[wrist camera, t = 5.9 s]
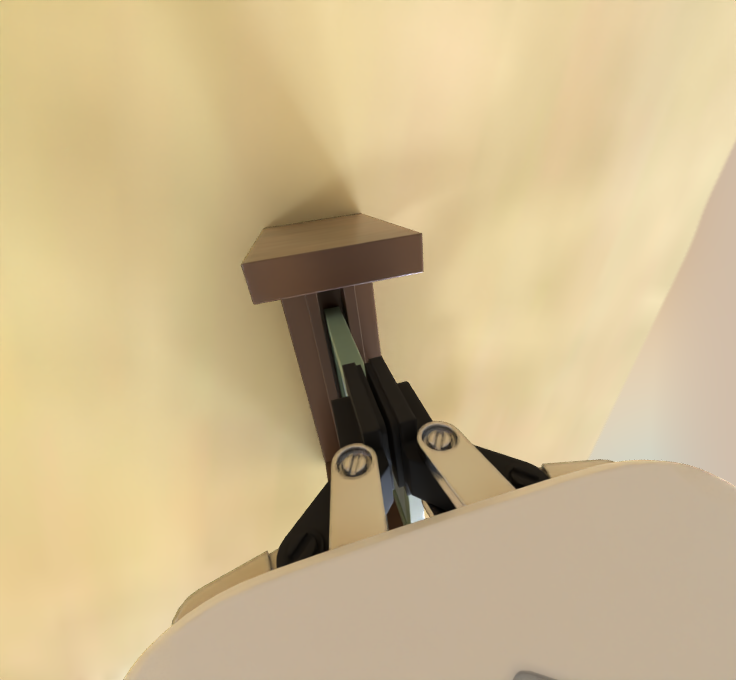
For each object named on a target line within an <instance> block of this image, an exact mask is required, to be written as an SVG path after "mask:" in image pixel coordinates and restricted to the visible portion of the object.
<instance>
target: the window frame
mask: <svg viewBox="0 0 736 680" xmlns="http://www.w3.org/2000/svg"><path fill="white" fill-rule="evenodd" d="M241 267H242V270H243V273H244V276H245V280H246V283H247V286H248V289H249V292H250V295H251V298H252V301H253V304H260V303H265V302H271V301H276V300H281V302H282V306H283V309H284V313H285V317H286V320H287V324H288V328H289V331H290V335H291V339H292V342H293V346H294V350H295V353H296V357H297V361H298V364H299V368H300V371H301V375H302V379H303V382H304V386H305V390H306V393H307V397H308V401H309V404H310V408H311V412H312V415H313V419H314V423H315V426H316V430H317V434H318V437H319V441H320V445H321V448H322V452H323V456H324V459H325V463H326V470H327V478H328V481H329V480H330V479H331V464H332V459H333V457H334V456H335V454H336V453H337V452H338V451H339V450H340V444H339V439H338V434H337V429H336V424H335V419H334V414H333V409H332V404H331V400H334V399H338V398H342V396H341V392H340V387H339V382H338V377H337V372H336V367H335V362H334V358H333V353H332V348H331V343H330V338H329V333H328V328H327V324H326V319H325V314H324V309H328V308H333V307H339V308H340V310H341V312H342V314H343V317H344V319H345V321H346V324H347V326H348V328H349V330H350V333H351V335H352V337H353V339H354V342H355V344H356V346H357V349H358V351H359V353H360V355H361V358H362V360H363V362H364V363H368V359H370V358H374V357H378V356H381V351H380V343H379V334H378V326H377V317H376V309H375V300H374V292H373V283H372V282H375V281H380V280H385V279H391V278H396V277H401V276H406V275H412V274H417V273H422V272H423V243H422V233H419V232H416V231H413V230H410V229H407V228H404V227H401V226H398V225H395V224H392V223H389V222H386V221H382V220H379V219H376V218H373V217H370V216H367V215H364V214H361V213H359V214H353V215H346V216H340V217H333V218H327V219H320V220H314V221H308V222H301V223H295V224H288V225H282V226H275V227H269V228H264V229H263V230H262V232H261V233H260V235H259V236H258V238H257V240H256V241H255V243H254V244H253V246H252V248H251V249H250V251H249V252H248V254H247V256H246V257H245V259H244V260H243V262H242V263H241ZM393 480H394V488H395V489H394V490H393V498H394V501H393V503H392V505H391V507H390V509H389V511H388V513H387V514H386V515H387V521H388V528H389V531H390V530H393V529H396V528H399V527H402V526H405V525H408V524H411V523H414V522H417V521H420V520H423V519H424V507H423V504H422V501H421V499H419V498H417V497H415V496H413V495H408V496H407V494H406V491H405V489H404V487H400V488H399V487H398V485H397V482H396V480H395V477H394V474H393Z"/></svg>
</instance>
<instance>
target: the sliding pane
mask: <svg viewBox="0 0 736 680" xmlns="http://www.w3.org/2000/svg"><path fill="white" fill-rule="evenodd" d="M324 314H325V319H326V324H327V328H328V333H329V338H330V343H331V348H332V353H333V358H334V362H335V367H336V372H337V377H338V382H339V387H340V392H341V396H342V397H346V396H348V394H347V389H346V384H345V379H344V374H343V369H342V365H344V364H349V363H353V362H355V364H356V365H360V364H361V367H362V369H363V371H364V374H365V376H366V373H365V367H364V362H363V360H362V358H361V355H360V353H359V351H358V349H357V346H356V344H355V342H354V339H353V337H352V335H351V333H350V330H349V328H348V326H347V324H346V321H345V319H344V317H343V314H342V312H341V310H340V308H339V307H333V308H328V309H324Z"/></svg>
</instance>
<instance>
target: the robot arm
mask: <svg viewBox="0 0 736 680" xmlns="http://www.w3.org/2000/svg"><path fill="white" fill-rule="evenodd" d="M364 367H365V373H366V376H365V374H364V371H363V369H362V367H361V364H360V365H356V364H355V362H353V363H349V364H344V365H342V369H343V374H344V379H345V384H346V389H347V394H348V396H346V397H342V398H338V399H334V400H331V404H332V409H333V414H334V419H335V424H336V429H337V434H338V439H339V444H340V450H339V451H338V452H337V453H336V454H335V456H334V457H333V459H332V464H331V479H330V480H329V481H328V482H327V484H326V485H325V486H324V488H323V489H322V490H321V492H320V493H319V494H318V495H317V497H316V498H315V499H314V501H313V502H312V503H311V505H310V506H309V507H308V508H307V510H306V511H305V512H304V514H303V515H302V516H301V518H300V519H299V520H298V521H297V523H296V524H295V525H294V527H293V528H292V529H291V531H290V532H289V533H288V534H287V536H286V537H285V538H284V540H283V542H282V543H281V545H280V547H279V549H277V550H275V551H273V552H272V553H270V554H269V553H268V551H266V552H264V553H262V554H260V555H259V556H257V557H255V558H253V559H251V560H250V561H248V562H246V563H244V564H243V565H241V566H239V567H237V568H235V569H234V570H232V571H230V572H228V573H227V574H225V575H223V576H221V577H220V578H218V579H216V580H214V581H212V582H211V583H209V584H207V585H205V586H204V587H202V588H200V589H198V590H197V591H196V592H194V593H193V594H192V595H190V596H189V597H188V598H187V599H186V600H185V601H184V603H183V604H182V605H181V606H180V607H179V609H178V611H177V613H176V615H175V617H174V619H173V621H172V625H171V627H170V628H168V629H167V630H166V631H165V632H164V633H163V634H162V635H161V636H159V637H158V638H157V639H156V640H155V641H154V642H153V643H152V644H151V645H150V646H149V647H148V648H147V649H146V650H145V651H144V652H143V654H142V655H141V656H140V657H139V658H138V659H137V661H136V662H135V663H134V665H133V666H132V667H131V669H130V670H129V672H128V673H127V675H126V676H125V678H124V679H123V680H736V486H734V485H732V484H730V483H729V482H727V481H725V480H723V479H721V478H719V477H717V476H715V475H713V474H711V473H709V472H707V471H704V470H702V469H700V468H697V467H693V466H690V465H686V464H681V463H676V462H668V461H655V460H631V461H620V462H613V461H610V460H601V459H600V460H586V461H573V462H560V463H547V464H542V467H541V468H538V467H536V466H534V465H532V464H530V463H528V462H524V461H521V460H518V459H515V458H512V457H509V456H506V455H503V454H500V453H497V452H494V451H491V450H487V449H484V448H481V447H478V446H475V445H473V444H472V443H471V442H470V441H469V440H468V439H467V438H466V437H465V436H464V435H463V434H462V433H461V432H460V431H459V430H458V429H457V428H456V427H455V426H453V425H452V424H449V423H447V422H442V421H432V419H431V418H430V416H429V415H428V413H427V411H426V410H425V408H424V407H423V405H422V403H421V402H420V400H419V399H418V397H417V395H416V394H415V392H414V390H413V389H412V387H411V386H410V384H409V383H408V382H407V381H406V382H402V383H398V384H397V383H396V381H395V379H394V378H393V376H392V374H391V372H390V370H389V369H388V367H387V365H386V363H385V362H384V360H383V358H382V356H378V357H374V358H370V359H368V363H364ZM393 474H394V477H395V480H396V482H397V485H398V487H399V488H400V487H404V489H405V491H406V494H407V496H408V495H413V496H415V497H417V498H419V499H421V501H422V504H423V507H424V509H425V510H426V512H427V514H428V515H429V518H426V519H423V520H420V521H417V522H414V523H411V524H408V525H405V526H402V527H399V528H396V529H393V530H390V531H389V528H388V521H387V515H386V514H387V513H388V511H389V509H390V507H391V505H392V503H393V501H394V498H393V490H394V489H395V488H394V480H393Z"/></svg>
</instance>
